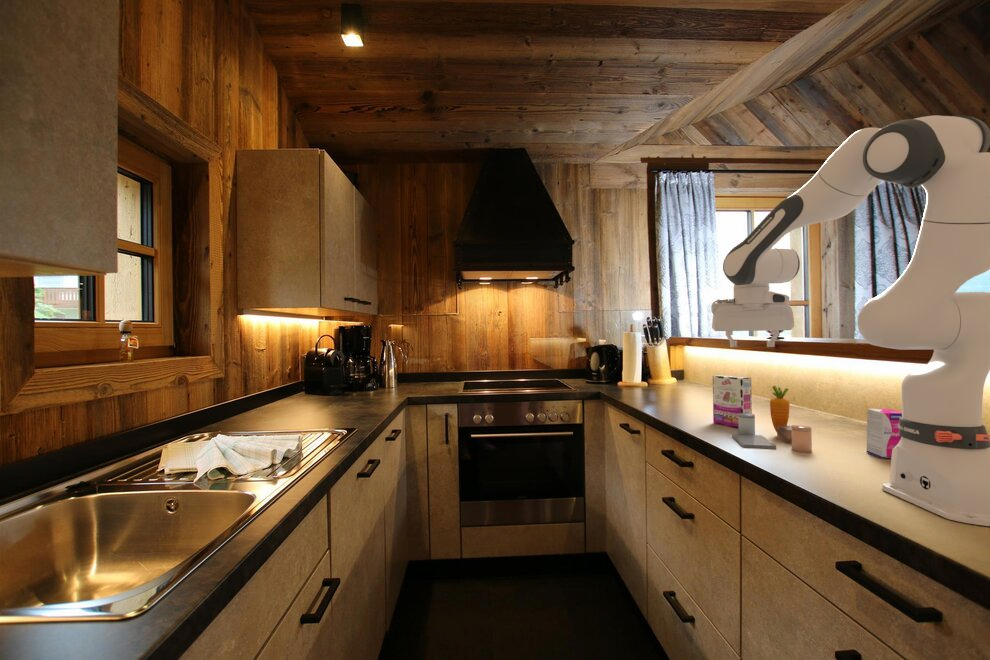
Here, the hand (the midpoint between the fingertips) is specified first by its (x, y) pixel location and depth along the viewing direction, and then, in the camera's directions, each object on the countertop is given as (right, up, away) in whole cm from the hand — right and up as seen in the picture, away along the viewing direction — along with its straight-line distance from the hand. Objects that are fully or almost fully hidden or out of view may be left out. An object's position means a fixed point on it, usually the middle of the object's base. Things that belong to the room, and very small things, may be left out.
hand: (751, 347), depth 128 cm
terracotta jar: (+8, -27, -8) cm, 29 cm away
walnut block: (+12, -27, +1) cm, 30 cm away
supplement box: (+25, -27, -15) cm, 40 cm away
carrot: (+13, -27, +7) cm, 31 cm away
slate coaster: (0, -27, 0) cm, 27 cm away
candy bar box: (+6, -27, +22) cm, 36 cm away
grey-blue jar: (+4, -27, +10) cm, 29 cm away
